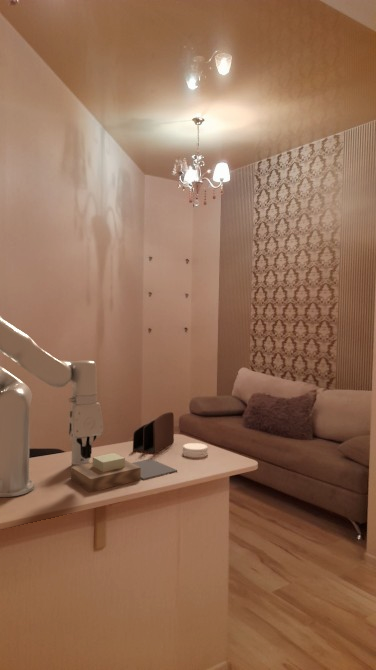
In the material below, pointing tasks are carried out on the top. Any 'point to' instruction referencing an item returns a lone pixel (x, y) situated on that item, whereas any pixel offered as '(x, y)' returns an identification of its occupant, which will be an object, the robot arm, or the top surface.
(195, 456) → the white short cylinder
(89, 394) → the robot arm
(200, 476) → the top surface
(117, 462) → the tile
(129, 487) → the top surface
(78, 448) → the travel mug
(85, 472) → the riser
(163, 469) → the mat
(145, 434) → the letter holder
